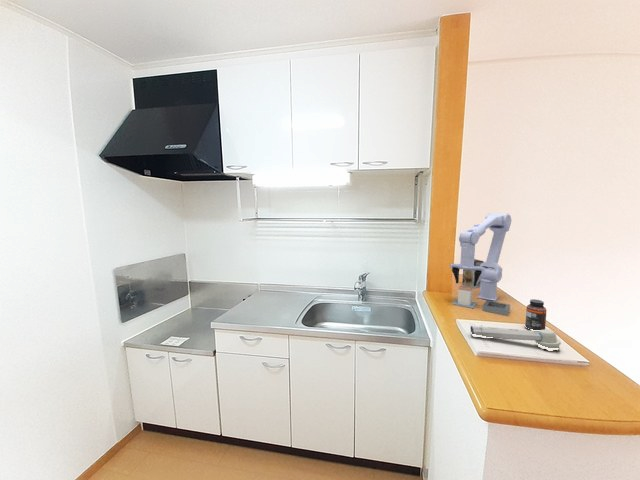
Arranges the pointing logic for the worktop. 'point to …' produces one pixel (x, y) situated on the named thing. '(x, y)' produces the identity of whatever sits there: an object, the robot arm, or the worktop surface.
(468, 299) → the beige pink box
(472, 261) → the robot arm
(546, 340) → the angled head flashlight
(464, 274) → the coffee box
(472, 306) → the rubber mat
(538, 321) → the supplement bottle
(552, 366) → the worktop surface
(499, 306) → the frame
